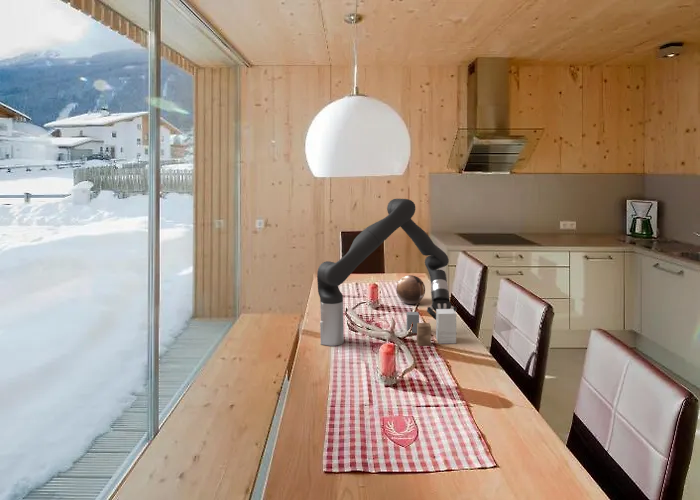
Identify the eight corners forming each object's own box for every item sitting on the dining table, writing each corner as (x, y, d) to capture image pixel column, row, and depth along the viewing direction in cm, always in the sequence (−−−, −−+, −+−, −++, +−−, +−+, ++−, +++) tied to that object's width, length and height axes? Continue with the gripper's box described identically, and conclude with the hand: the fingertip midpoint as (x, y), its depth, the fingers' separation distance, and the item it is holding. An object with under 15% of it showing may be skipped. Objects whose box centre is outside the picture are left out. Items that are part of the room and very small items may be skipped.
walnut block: (418, 345, 211) (418, 326, 210) (416, 341, 216) (417, 322, 215) (430, 345, 211) (430, 326, 210) (429, 341, 216) (429, 322, 215)
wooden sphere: (390, 302, 281) (390, 274, 278) (414, 298, 288) (414, 271, 285) (406, 308, 268) (406, 279, 265) (430, 304, 275) (431, 276, 272)
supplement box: (453, 338, 220) (453, 308, 218) (456, 343, 212) (456, 313, 211) (435, 338, 220) (435, 308, 218) (437, 343, 213) (438, 313, 211)
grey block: (407, 333, 228) (407, 314, 227) (406, 329, 233) (406, 311, 232) (419, 332, 228) (419, 314, 227) (417, 329, 233) (418, 311, 231)
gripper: (425, 287, 227) (428, 323, 217) (456, 287, 227) (461, 323, 217) (423, 296, 233) (426, 332, 223) (454, 296, 233) (458, 332, 223)
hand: (443, 327), depth 220 cm, fingers closed
